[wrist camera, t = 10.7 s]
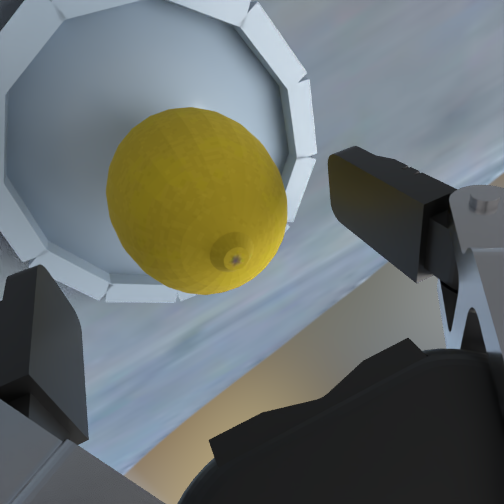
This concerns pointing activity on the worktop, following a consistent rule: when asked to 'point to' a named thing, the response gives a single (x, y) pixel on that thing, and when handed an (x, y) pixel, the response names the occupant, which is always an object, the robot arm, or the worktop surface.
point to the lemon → (196, 200)
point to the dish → (129, 118)
